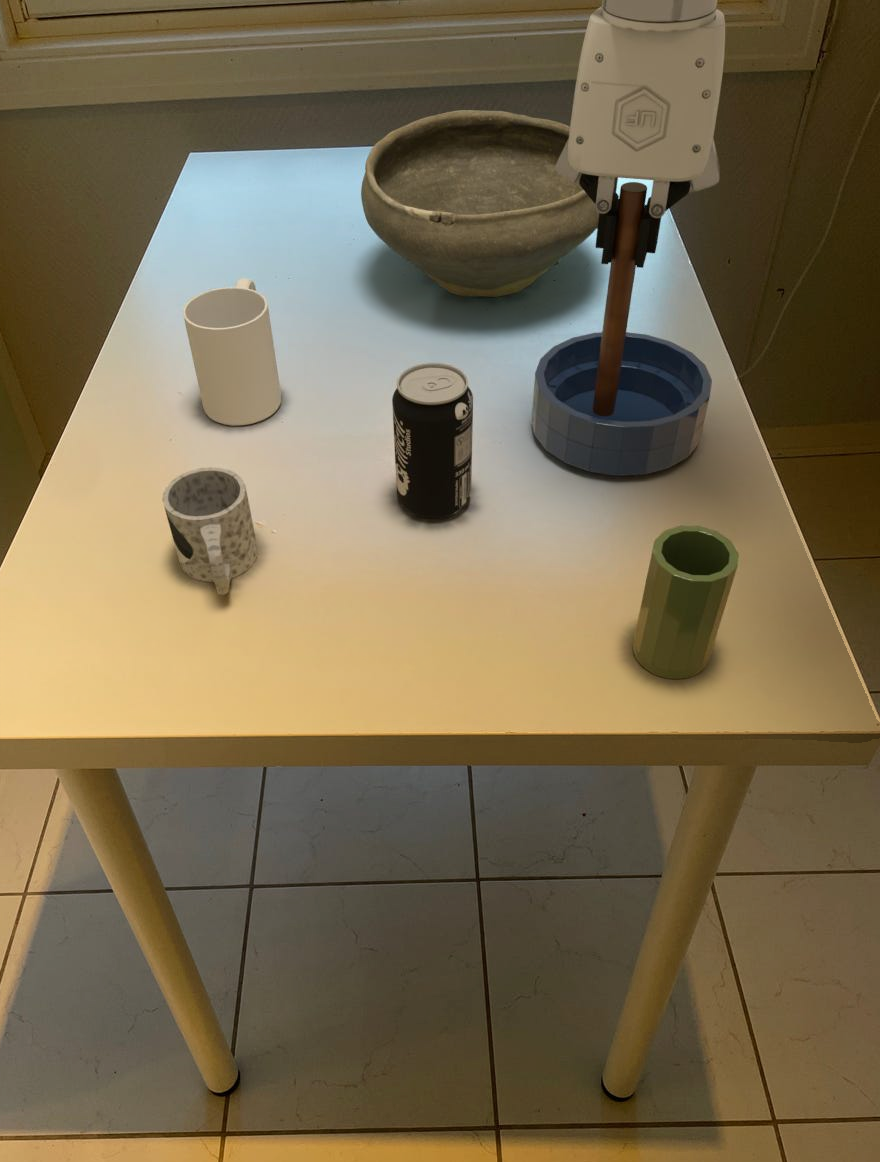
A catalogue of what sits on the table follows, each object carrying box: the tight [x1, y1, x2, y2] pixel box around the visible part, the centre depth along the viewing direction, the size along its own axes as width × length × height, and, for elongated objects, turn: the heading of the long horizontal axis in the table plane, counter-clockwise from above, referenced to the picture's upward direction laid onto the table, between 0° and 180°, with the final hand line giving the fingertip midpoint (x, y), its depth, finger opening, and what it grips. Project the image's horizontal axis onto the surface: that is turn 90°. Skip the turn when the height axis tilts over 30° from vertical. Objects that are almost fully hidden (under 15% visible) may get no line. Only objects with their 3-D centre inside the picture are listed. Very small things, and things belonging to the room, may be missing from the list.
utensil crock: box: [632, 525, 740, 680], centre depth 69 cm, size 6×6×10 cm
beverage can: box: [391, 362, 474, 520], centre depth 81 cm, size 7×7×12 cm
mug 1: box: [182, 277, 282, 426], centre depth 94 cm, size 12×8×10 cm, turn 172°
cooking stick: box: [592, 181, 648, 416], centre depth 81 cm, size 2×2×20 cm
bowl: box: [360, 109, 599, 298], centre depth 108 cm, size 28×28×14 cm
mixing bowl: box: [531, 331, 713, 477], centre depth 89 cm, size 16×16×6 cm
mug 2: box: [161, 466, 259, 595], centre depth 78 cm, size 10×7×7 cm, turn 13°
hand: (624, 256), depth 78 cm, fingers closed on cooking stick, 2 cm apart
